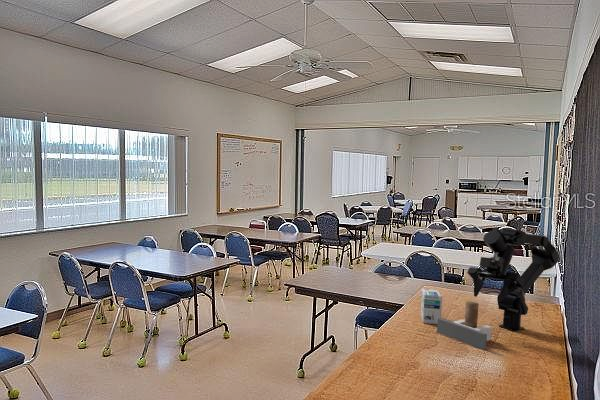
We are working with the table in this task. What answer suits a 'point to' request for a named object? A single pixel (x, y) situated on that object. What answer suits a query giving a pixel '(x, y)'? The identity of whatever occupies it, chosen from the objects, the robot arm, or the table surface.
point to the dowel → (471, 314)
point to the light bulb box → (431, 306)
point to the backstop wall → (462, 333)
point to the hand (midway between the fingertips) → (486, 298)
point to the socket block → (478, 328)
